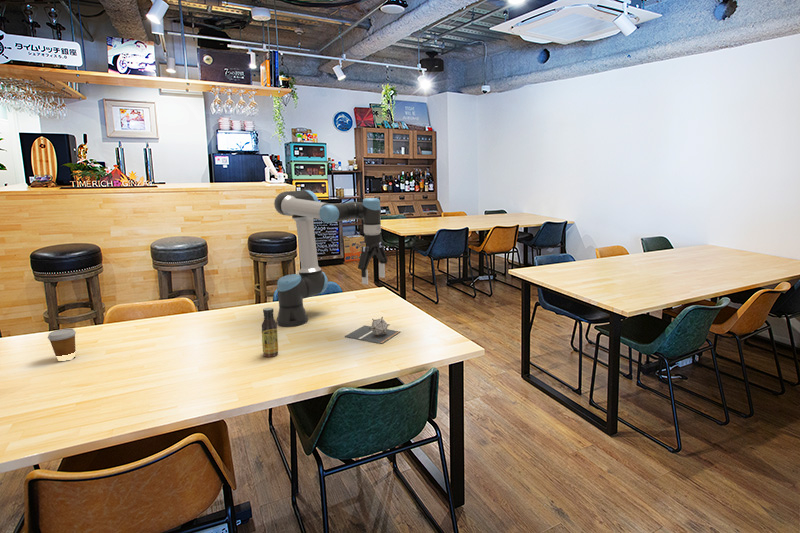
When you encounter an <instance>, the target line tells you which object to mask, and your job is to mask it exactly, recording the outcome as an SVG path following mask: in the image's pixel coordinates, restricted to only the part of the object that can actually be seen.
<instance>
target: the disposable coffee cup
mask: <svg viewBox="0 0 800 533" xmlns="http://www.w3.org/2000/svg"><path fill="white" fill-rule="evenodd" d="M76 333H77V331H75V329H74V328H62V329H57V330H53V331H51V332H49V333H48V336H47V339H48V341H49V342H50V344H51V347H52V350H53V353H54V355H55V357H56V356H62V355H68V354H71V353H74V352H75V351H76ZM76 352H77V351H76Z"/></svg>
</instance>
